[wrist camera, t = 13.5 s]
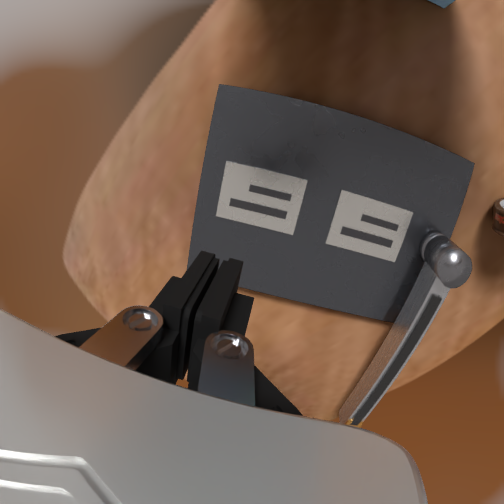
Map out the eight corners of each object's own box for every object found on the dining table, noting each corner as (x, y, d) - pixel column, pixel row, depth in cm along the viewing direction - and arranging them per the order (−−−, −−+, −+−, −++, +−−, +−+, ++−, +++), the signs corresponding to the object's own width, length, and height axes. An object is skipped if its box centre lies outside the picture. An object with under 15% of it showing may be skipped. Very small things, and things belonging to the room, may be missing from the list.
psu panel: (469, 162, 23) (480, 165, 21) (407, 319, 31) (413, 331, 29) (222, 85, 24) (216, 82, 22) (190, 267, 32) (183, 277, 30)
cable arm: (432, 231, 24) (450, 247, 21) (457, 241, 24) (477, 258, 20) (334, 409, 34) (336, 435, 30) (357, 413, 34) (360, 437, 30)
